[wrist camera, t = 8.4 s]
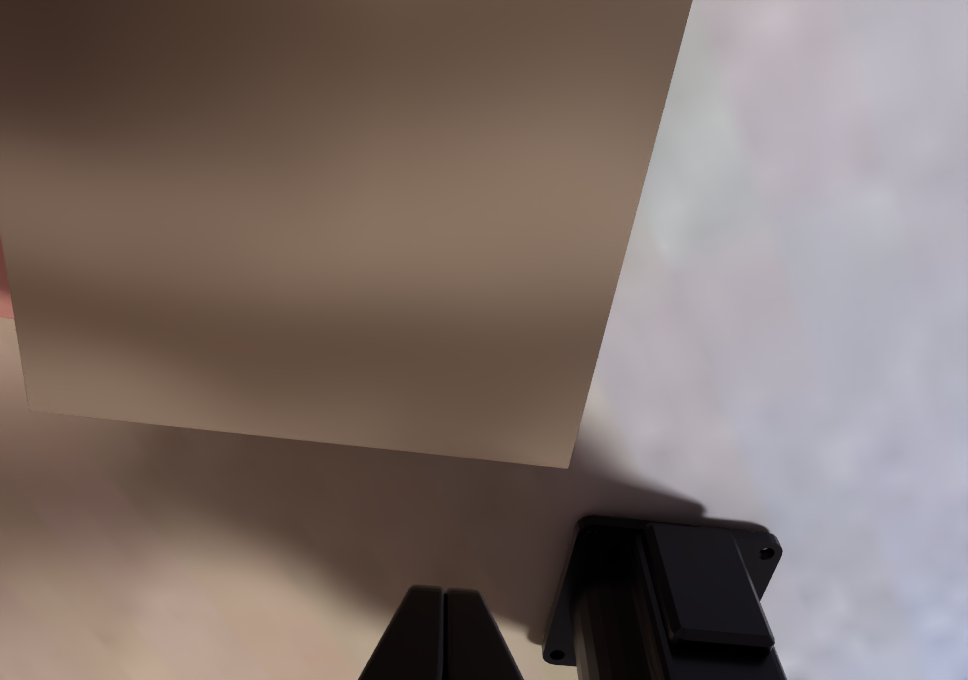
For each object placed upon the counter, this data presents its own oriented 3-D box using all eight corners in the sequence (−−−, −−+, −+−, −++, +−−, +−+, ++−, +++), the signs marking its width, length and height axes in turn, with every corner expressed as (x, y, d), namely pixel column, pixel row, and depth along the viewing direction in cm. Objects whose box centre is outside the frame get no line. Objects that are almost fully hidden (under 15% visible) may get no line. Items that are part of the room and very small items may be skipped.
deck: (552, 373, 22) (568, 468, 19) (100, 320, 21) (29, 410, 18) (767, -546, 13) (874, -687, 10) (-7, -729, 12) (-196, -962, 9)
